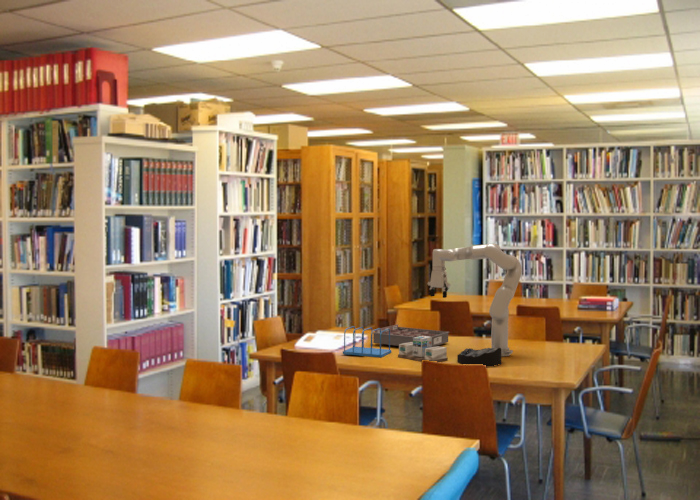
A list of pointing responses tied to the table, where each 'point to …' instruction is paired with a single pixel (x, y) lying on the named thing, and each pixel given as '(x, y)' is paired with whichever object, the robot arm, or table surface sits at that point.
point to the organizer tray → (408, 335)
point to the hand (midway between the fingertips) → (438, 296)
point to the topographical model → (480, 356)
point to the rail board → (430, 353)
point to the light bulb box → (421, 345)
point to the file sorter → (366, 351)
